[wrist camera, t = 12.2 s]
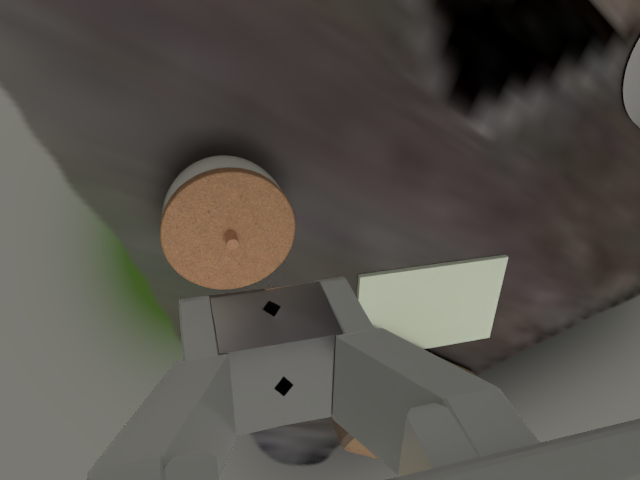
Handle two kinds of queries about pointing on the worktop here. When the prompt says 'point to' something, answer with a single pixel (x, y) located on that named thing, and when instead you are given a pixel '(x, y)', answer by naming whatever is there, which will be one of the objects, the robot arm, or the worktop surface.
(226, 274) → the lidded jar
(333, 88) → the worktop surface
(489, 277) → the mat
